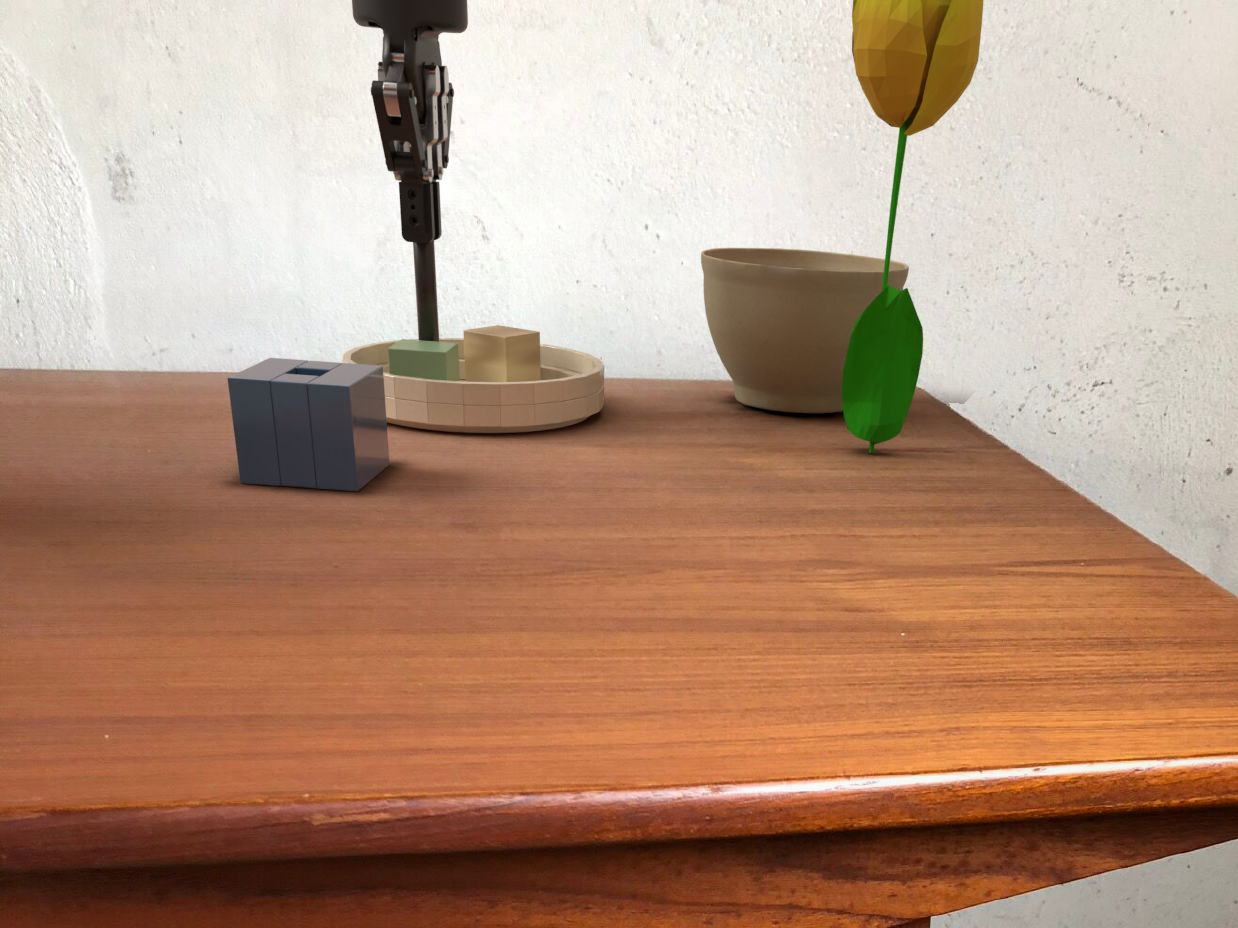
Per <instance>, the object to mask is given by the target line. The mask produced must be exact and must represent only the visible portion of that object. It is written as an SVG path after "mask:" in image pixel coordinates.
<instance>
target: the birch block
mask: <svg viewBox="0 0 1238 928" xmlns="http://www.w3.org/2000/svg"><path fill="white" fill-rule="evenodd" d="M462 333H463V338H464V358H465V382H526V381H540V380H541V378H540V344H541V332H540V331H537V330H531V329H525V328H518V327H513V326H512V327H511V326H506V325H500V324H497V325H489V326H483V327H476V328H470V329H469V328H468V329H464V330H463V332H462Z"/></svg>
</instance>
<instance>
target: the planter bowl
mask: <svg viewBox="0 0 1238 928" xmlns="http://www.w3.org/2000/svg"><path fill="white" fill-rule="evenodd" d="M700 264H701V269H702V273H703V285H702V286H703V302H704V309H705V311H704V312H705V316H706V317H705V318H706V321H707V325H708V330H709V333H710V336H711V339H712V342H713V345H714V347H715V348H714V349H715V350H716V353H717V354H718V357H719V359H720V361H721V363H722V365H723V367H724V369H725V371H726V372H727V374H728V375H729V378H730V379H731V380H732V382H733V388H734V398H735V400H736V401H738V402H739V403H741V404H742V405H744V406H746V407H753V408H757V409H761V410H768V411H774V412H782V413H794V414H829V413H837V414H840V413H842V412H843V405H842V380H843V370H844V365H845V360H846V355H847V351H848V346H849V342H850V337H851V334H852V331H853V328H854V324H855V321H856V320H857V319H858V318H859V316H860V315H861V314H862V313H863V311H864V310H865V309H866V308H867V307H868V306H869V305H870V303H871V302H872V301H873V300H874V299H875V298H876V297H877V296H878V295H879V294H880V293H881V292H882V285H883V275H884V265H885V258H881V257H874V256H867V255H859V254H850V253H841V252H832V251H822V250H812V249H799V248H798V249H795V248H777V247H776V248H775V247H774V248H773V247H772V248H771V247H716V248H715V247H713V248H708V249H705V250H702V251H701V253H700ZM909 269H910V266H909V265H908V264H907V263H904V262H902V261H901V262H900V261H897V260H894V259H893V260H892V259H890V265H889V274H888V284H887V287H888V286H891V287H894V288H896V289H898V290H901V291H902V290H904V287H905V285H906V282H907V280H908V276H909V271H910V270H909Z"/></svg>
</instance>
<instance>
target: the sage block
mask: <svg viewBox="0 0 1238 928" xmlns="http://www.w3.org/2000/svg"><path fill="white" fill-rule="evenodd" d="M399 340H400V341H398V342H397V343H395V344H394V345H392V346H391V347H389V348H388V363H389V374H394V375H399V376H407V377H415V378H423V379H432V380H447V381H460V376H459V352H458V343H452V342H437V341H422V340H408V339H406V338H405V339H404V338H402V339H399Z"/></svg>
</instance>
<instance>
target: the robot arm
mask: <svg viewBox="0 0 1238 928" xmlns="http://www.w3.org/2000/svg"><path fill="white" fill-rule="evenodd" d="M351 8H352V9H351V10H352V17H353V19H354V22H355V23H356V24H357V25H358V26H360V27H363V28H372V29H373V28H374V29H381V30H382V34H383V36H382V54H381V61H378V63H377V80H375V79H374V80H372V82H371V86H370V96H372V97H371V98H372V102H373V107H374V112H375V117H376V122H377V126H378V131H379V135H380V136H379V137H380V140H381V146H382V150H383V155H384V159H385V162H384V163H385V166H386V169H387V171H388V172H391V173H392V174H393V175H394V180H395V181H398V193H399V211H400V213H399V214H400V229H401V237H402V238H403V240H404V241H405V242H407V243H413V242H416V243H429V242H432V241H433V240H434V241H436V240H439V239H441V237H442V233H443V232H442V213H441V212H442V211H441V210H442V209H441V189H440V187H441V186H440V181H442V180H443V175H444V169H447V168H448V165H449V161H450V158H449V155H450V140H451V129H452V115H453V103H454V102H453V101H454V97H455V90H454V88H453V84H452V82H450V80H449V79H450V78H449V77H450V76H449V68H448V66H447V65H443V60H442V55H441V45H440V42H439V37H440V35H441V34H444V33H445V34H446V33H447V34H462V33H465V31H467V29H468V27H469V15H468V14H469V13H468V12H469V11H468V0H351ZM426 182H428V183H426Z"/></svg>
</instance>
